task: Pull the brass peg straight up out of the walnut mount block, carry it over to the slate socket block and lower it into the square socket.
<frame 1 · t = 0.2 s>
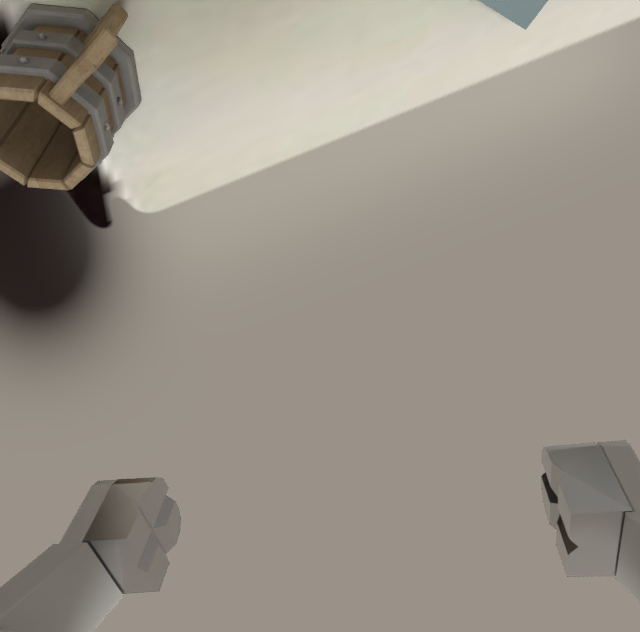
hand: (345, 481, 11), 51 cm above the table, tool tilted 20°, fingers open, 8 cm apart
tankard: (97, 46, 55), on the table
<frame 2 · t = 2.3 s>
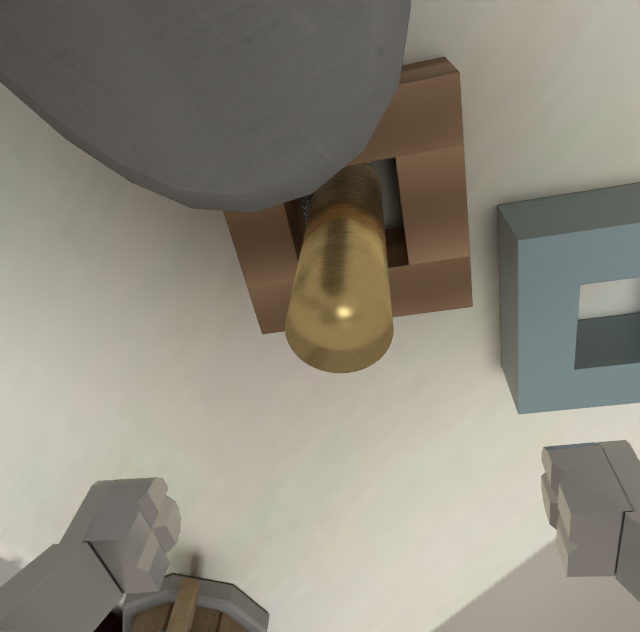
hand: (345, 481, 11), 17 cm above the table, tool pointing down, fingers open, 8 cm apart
tankard: (201, 591, 47), on the table
brass peg: (344, 243, 21), in the walnut mount
walnut mount: (347, 190, 26), on the table
slate socket block: (599, 279, 27), on the table
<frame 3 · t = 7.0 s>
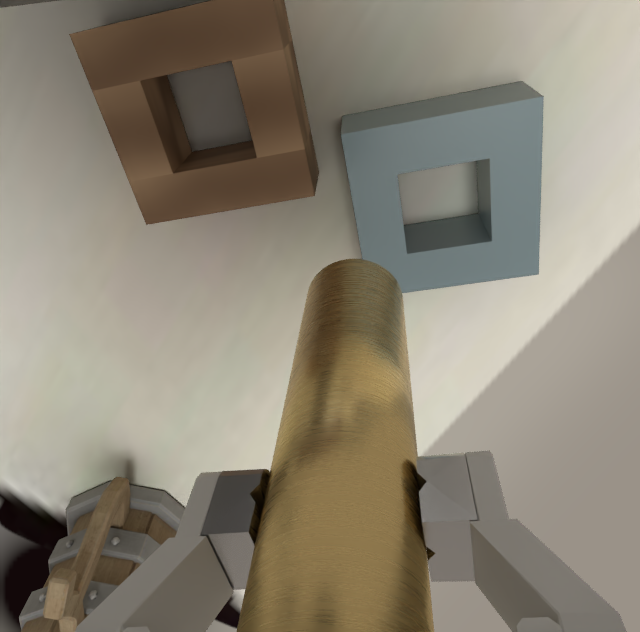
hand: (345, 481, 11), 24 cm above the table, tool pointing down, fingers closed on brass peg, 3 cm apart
tankard: (138, 499, 52), on the table
brass peg: (347, 429, 13), point 23 cm above the table, touching gripper
walnut mount: (217, 103, 31), on the table
slate socket block: (437, 183, 33), on the table
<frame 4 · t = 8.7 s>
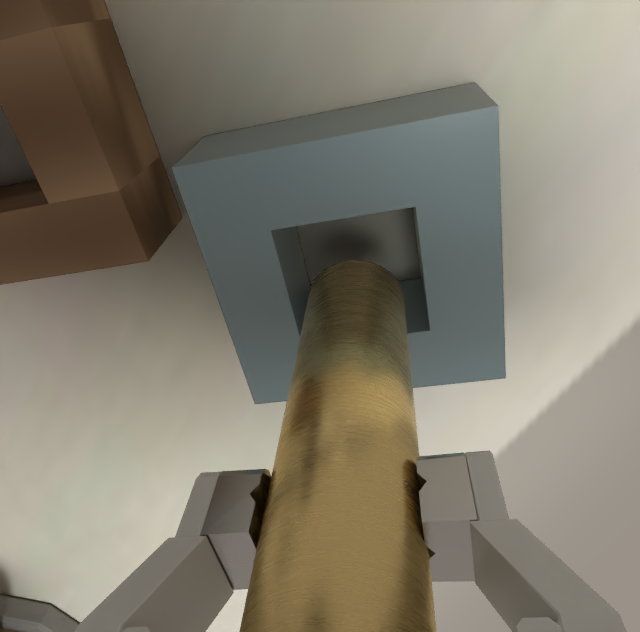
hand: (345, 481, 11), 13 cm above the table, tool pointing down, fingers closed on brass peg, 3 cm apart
tankard: (21, 611, 41), on the table
brass peg: (349, 430, 13), point 11 cm above the table, touching gripper
walnut mount: (17, 117, 20), on the table
slate socket block: (356, 235, 22), on the table
when the fingers open (9 cm above the table, at t = 10.1 s): brass peg drops 2 cm, resting in slate socket block.
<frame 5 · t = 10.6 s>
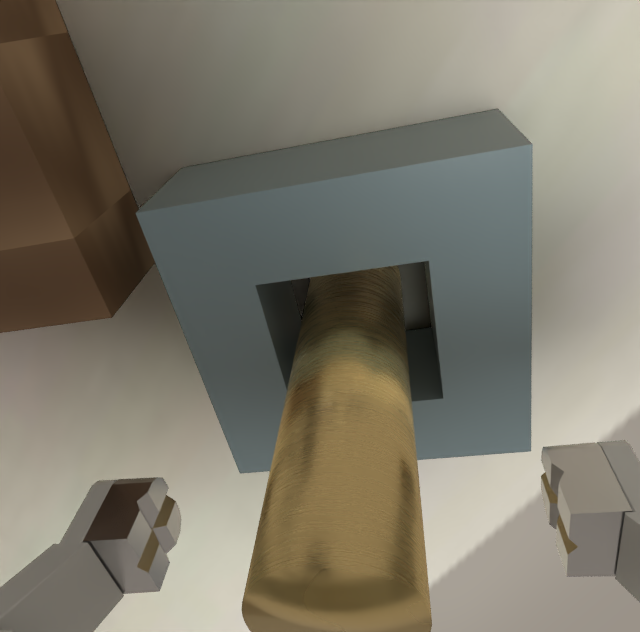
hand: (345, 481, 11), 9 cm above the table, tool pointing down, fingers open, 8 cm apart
brass peg: (349, 389, 14), in the slate socket block
slate socket block: (357, 280, 19), on the table
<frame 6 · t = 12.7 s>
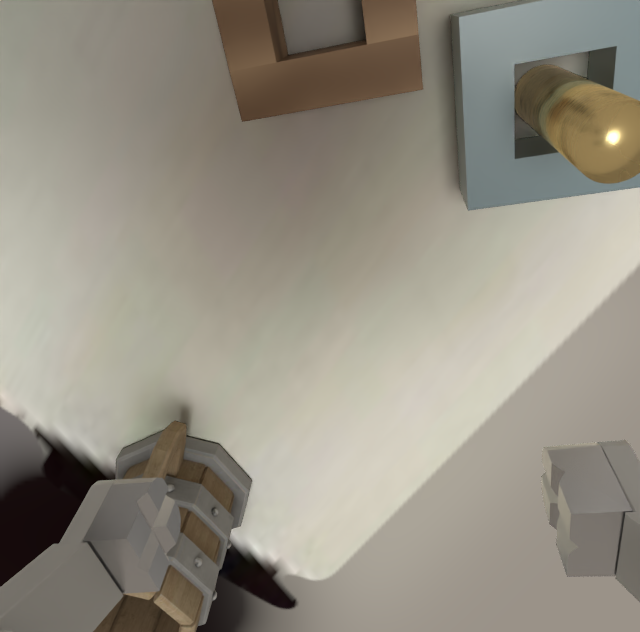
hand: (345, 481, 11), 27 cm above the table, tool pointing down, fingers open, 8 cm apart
tankard: (189, 453, 50), on the table
brass peg: (572, 114, 26), in the slate socket block
walnut mount: (320, 0, 30), on the table
slate socket block: (543, 93, 31), on the table
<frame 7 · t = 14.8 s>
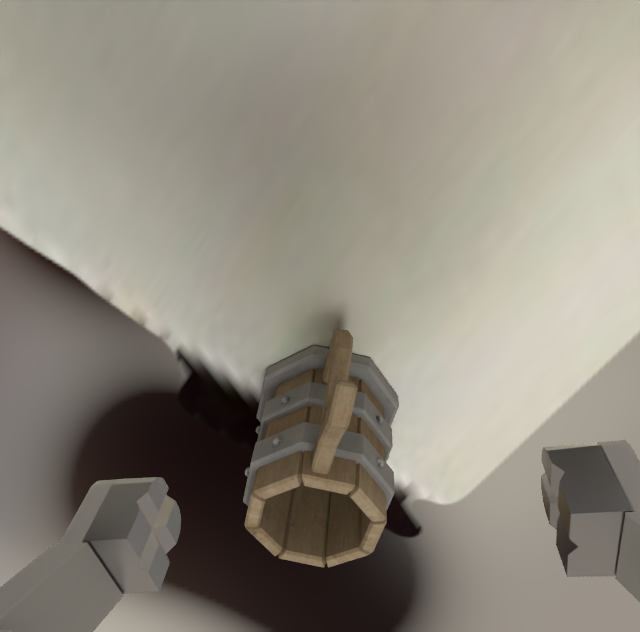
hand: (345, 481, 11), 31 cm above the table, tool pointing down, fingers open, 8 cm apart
tankard: (335, 370, 50), on the table
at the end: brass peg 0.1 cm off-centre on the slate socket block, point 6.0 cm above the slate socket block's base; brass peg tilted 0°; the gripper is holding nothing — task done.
